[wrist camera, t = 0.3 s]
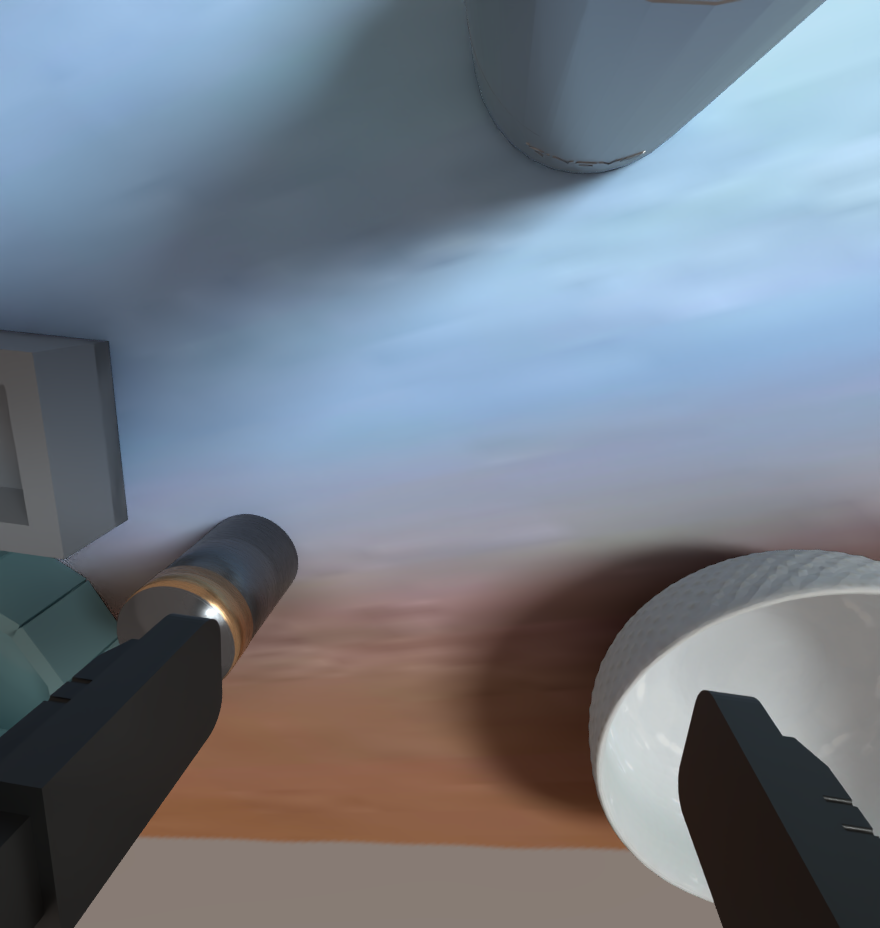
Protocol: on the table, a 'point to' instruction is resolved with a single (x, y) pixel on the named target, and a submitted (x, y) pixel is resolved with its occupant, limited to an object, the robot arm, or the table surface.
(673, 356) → the table surface
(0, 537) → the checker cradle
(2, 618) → the cup
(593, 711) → the cereal bowl
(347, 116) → the table surface
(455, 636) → the table surface
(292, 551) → the cell
